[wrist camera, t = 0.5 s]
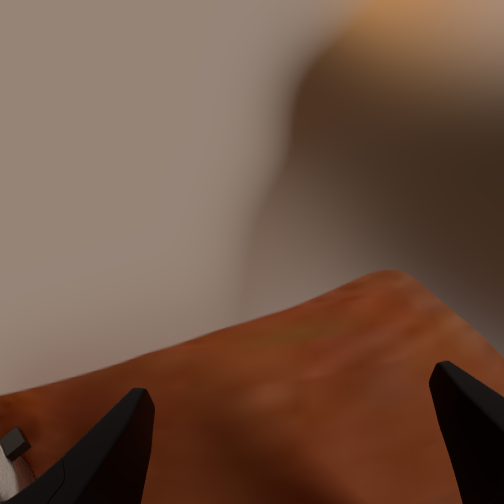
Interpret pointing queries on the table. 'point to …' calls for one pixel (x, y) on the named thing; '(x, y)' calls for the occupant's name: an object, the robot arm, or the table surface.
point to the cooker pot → (14, 464)
